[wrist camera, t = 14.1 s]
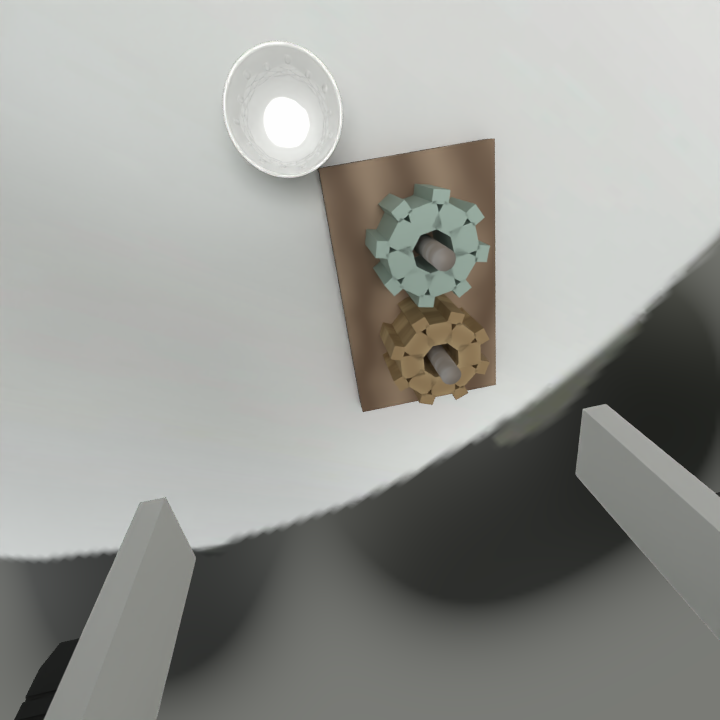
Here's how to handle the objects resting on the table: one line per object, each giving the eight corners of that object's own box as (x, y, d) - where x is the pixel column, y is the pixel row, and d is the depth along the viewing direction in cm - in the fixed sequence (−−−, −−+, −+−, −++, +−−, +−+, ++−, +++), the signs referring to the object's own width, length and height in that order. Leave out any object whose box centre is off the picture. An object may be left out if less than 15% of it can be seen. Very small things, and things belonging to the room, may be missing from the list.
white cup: (224, 137, 37) (201, 132, 28) (267, 45, 34) (257, 8, 25) (303, 189, 39) (305, 200, 31) (348, 108, 37) (365, 94, 28)
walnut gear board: (360, 402, 51) (375, 462, 41) (318, 168, 39) (325, 173, 29) (488, 376, 52) (533, 429, 42) (485, 139, 40) (547, 135, 30)
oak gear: (375, 303, 43) (386, 324, 38) (465, 285, 44) (489, 304, 38) (386, 382, 48) (397, 411, 42) (468, 366, 48) (490, 392, 43)
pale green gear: (383, 300, 43) (395, 321, 38) (353, 206, 39) (362, 215, 33) (472, 267, 43) (496, 283, 38) (451, 169, 39) (476, 172, 33)
